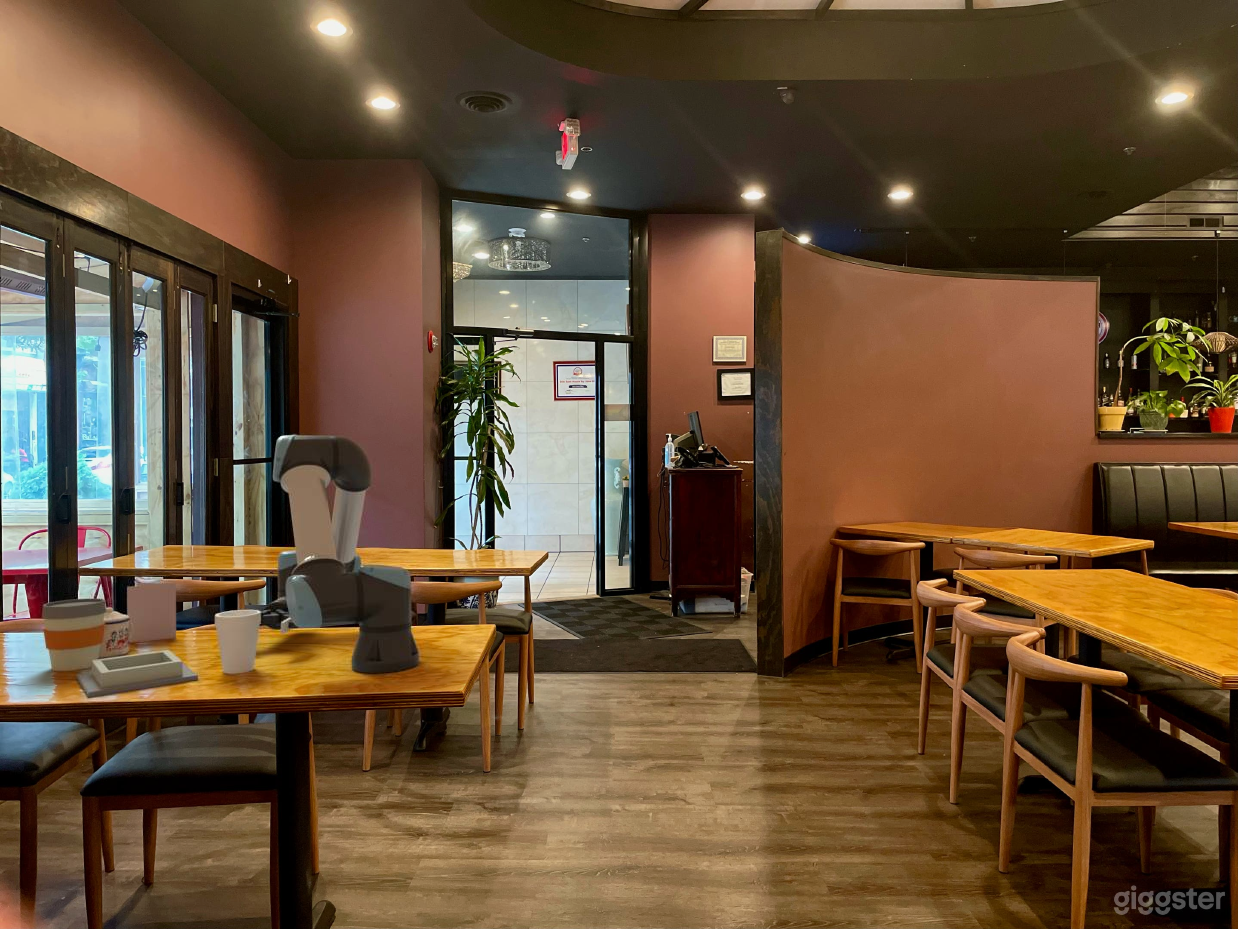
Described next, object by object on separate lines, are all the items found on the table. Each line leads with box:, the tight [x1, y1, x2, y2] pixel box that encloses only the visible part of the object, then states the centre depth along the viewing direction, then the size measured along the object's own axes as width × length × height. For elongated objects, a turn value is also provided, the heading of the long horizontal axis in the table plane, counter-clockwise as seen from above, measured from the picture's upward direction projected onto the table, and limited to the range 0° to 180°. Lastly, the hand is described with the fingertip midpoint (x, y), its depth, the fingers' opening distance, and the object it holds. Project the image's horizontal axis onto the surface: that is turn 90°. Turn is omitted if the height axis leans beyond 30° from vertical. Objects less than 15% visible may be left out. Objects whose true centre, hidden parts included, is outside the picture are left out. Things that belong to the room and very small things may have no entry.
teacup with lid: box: [98, 607, 133, 659], centre depth 200 cm, size 12×9×12 cm
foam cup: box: [214, 609, 262, 675], centre depth 180 cm, size 10×9×13 cm
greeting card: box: [126, 582, 177, 643], centre depth 215 cm, size 11×7×15 cm, turn 82°
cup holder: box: [76, 649, 199, 698], centre depth 174 cm, size 20×20×4 cm
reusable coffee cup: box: [41, 598, 107, 672], centre depth 186 cm, size 12×13×15 cm
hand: (253, 629), depth 190 cm, fingers open, 13 cm apart
